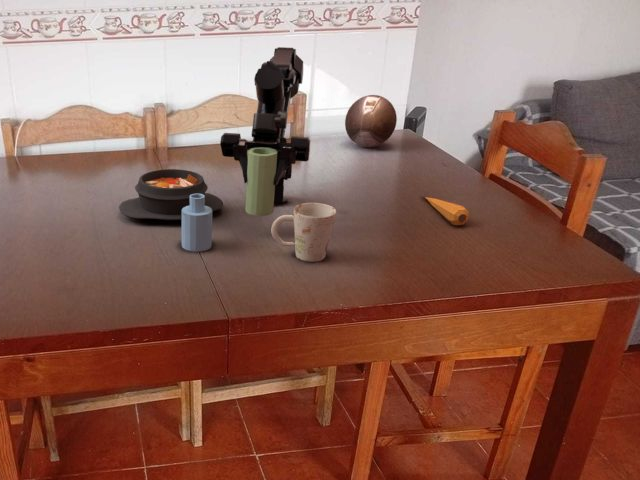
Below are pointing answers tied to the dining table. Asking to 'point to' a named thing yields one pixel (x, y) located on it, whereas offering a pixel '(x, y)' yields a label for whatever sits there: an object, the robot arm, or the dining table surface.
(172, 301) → the dining table surface
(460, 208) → the carrot
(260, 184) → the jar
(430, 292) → the dining table surface
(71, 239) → the dining table surface
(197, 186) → the casserole
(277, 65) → the robot arm
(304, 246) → the mug
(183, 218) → the bottle
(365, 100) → the bronze metallic sphere
